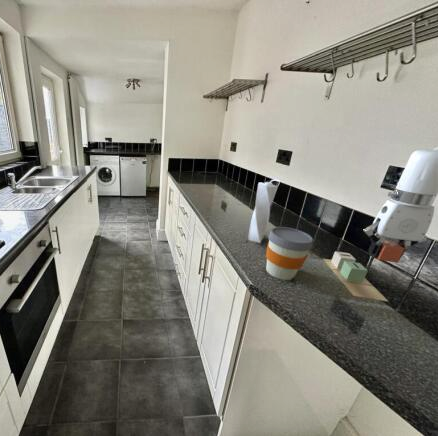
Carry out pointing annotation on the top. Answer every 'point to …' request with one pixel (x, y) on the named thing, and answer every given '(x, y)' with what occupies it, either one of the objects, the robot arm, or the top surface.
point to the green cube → (353, 271)
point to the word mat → (357, 285)
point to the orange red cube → (390, 251)
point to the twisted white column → (262, 210)
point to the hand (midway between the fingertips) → (383, 256)
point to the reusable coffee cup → (287, 252)
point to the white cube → (341, 259)
